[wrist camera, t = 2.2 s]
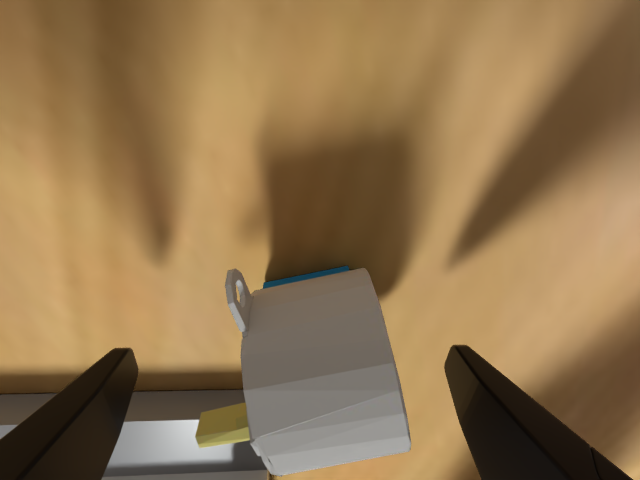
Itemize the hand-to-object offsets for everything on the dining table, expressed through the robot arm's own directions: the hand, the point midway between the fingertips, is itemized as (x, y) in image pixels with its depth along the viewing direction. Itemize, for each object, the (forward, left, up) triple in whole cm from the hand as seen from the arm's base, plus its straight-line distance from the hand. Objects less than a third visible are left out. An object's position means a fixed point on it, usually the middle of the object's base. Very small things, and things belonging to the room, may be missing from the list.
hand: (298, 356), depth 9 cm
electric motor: (0, 0, -2) cm, 2 cm away
